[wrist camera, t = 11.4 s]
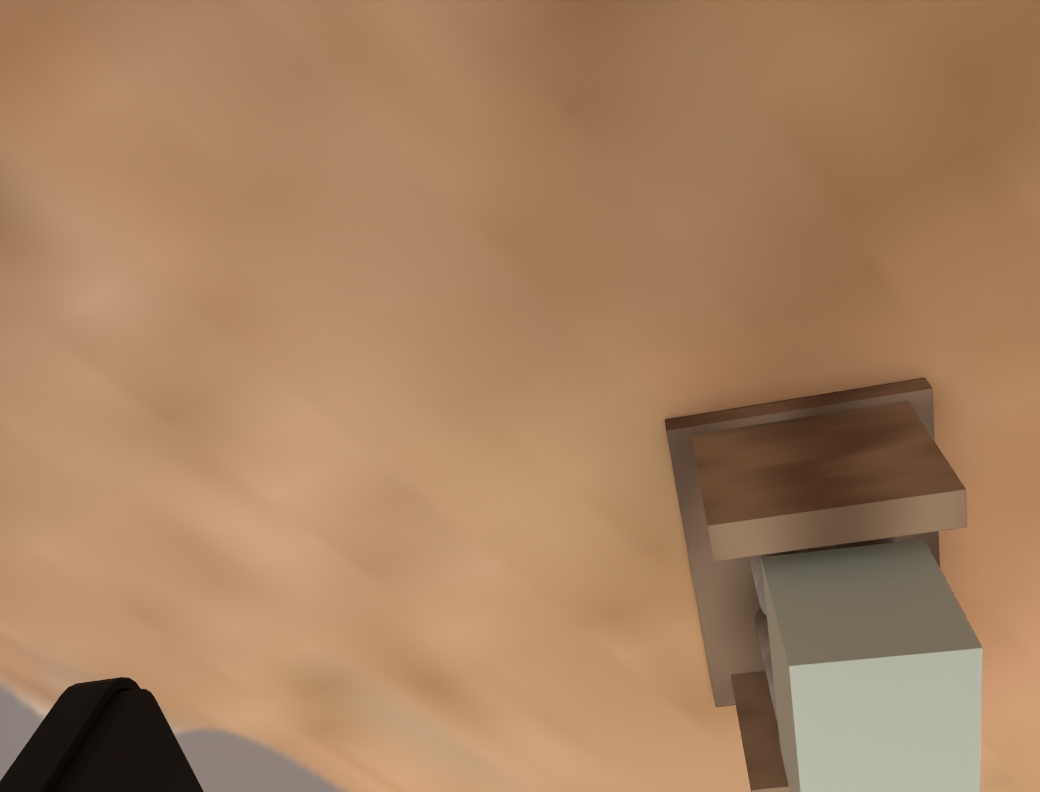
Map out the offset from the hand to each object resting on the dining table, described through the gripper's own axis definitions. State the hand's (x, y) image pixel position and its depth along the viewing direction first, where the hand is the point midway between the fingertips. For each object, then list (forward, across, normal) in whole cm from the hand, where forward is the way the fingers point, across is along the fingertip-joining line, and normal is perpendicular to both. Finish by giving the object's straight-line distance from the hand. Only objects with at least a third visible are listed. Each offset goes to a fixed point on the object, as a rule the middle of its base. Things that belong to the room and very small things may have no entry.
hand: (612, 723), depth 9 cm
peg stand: (+30, -6, +21) cm, 37 cm away
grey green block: (+23, -6, +21) cm, 32 cm away
